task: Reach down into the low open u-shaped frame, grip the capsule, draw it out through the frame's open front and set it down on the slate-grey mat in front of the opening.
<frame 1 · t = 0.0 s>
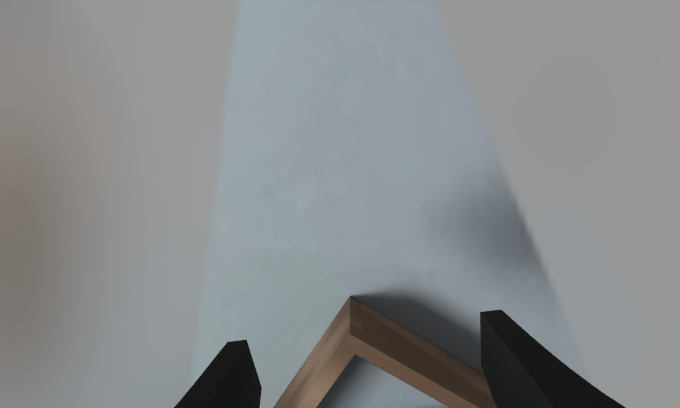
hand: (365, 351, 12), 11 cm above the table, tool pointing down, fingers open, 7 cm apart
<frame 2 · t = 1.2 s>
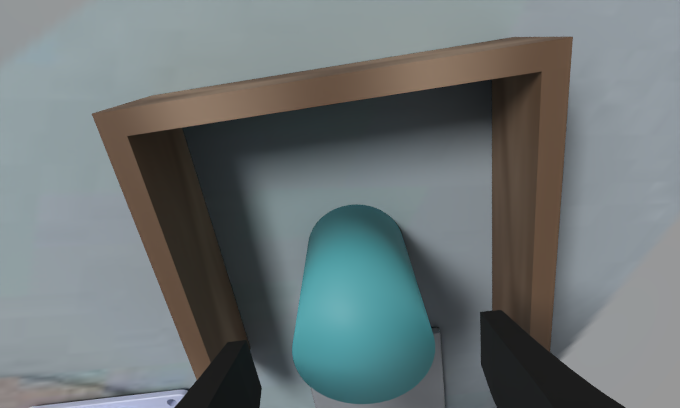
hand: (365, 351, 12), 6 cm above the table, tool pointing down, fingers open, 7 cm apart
capsule: (355, 248, 18), on the table
open u-shaped frame: (351, 219, 17), on the table
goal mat: (376, 377, 21), on the table
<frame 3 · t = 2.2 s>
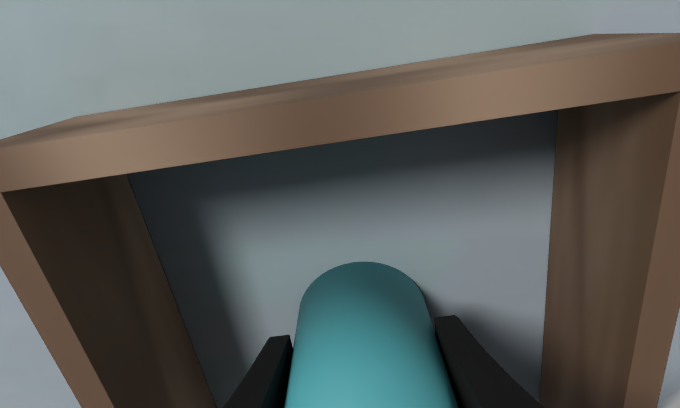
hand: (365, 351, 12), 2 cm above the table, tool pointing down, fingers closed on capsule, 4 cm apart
capsule: (362, 316, 14), on the table, touching gripper
open u-shaped frame: (356, 280, 13), on the table
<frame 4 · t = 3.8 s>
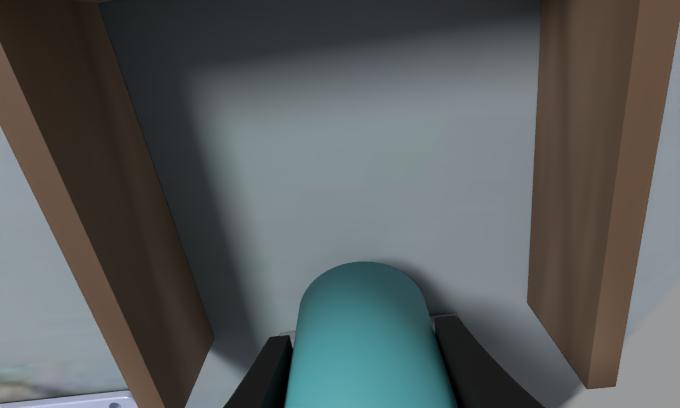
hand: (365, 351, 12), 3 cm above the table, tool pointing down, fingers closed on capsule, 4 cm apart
capsule: (362, 316, 14), point 1 cm above the table, touching gripper
open u-shaped frame: (343, 164, 13), on the table
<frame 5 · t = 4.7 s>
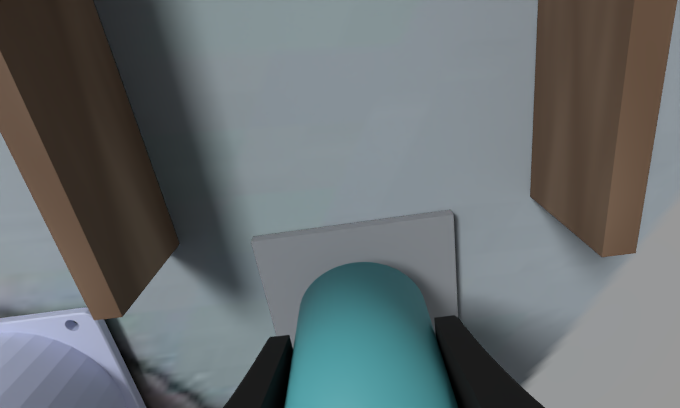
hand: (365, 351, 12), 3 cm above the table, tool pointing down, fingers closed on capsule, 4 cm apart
capsule: (362, 316, 14), point 1 cm above the table, touching gripper
open u-shaped frame: (317, 18, 11), on the table
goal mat: (361, 291, 15), on the table
when the fingers open (3 cm above the table, at t = 5.4 s): capsule drops 1 cm, resting on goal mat.
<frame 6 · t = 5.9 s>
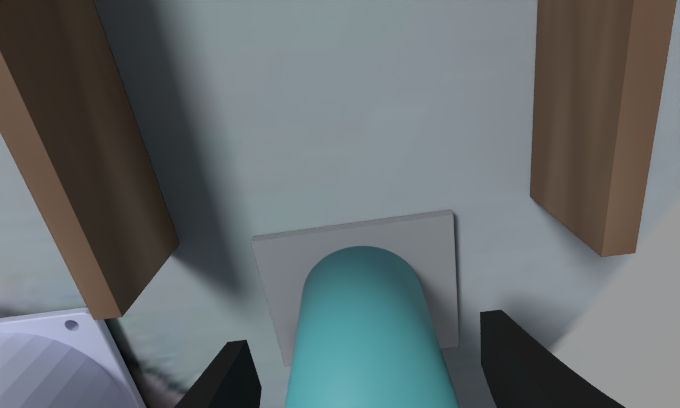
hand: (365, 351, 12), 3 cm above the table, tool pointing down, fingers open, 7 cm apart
capsule: (361, 297, 15), resting on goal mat
open u-shaped frame: (317, 18, 11), on the table
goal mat: (360, 291, 15), on the table
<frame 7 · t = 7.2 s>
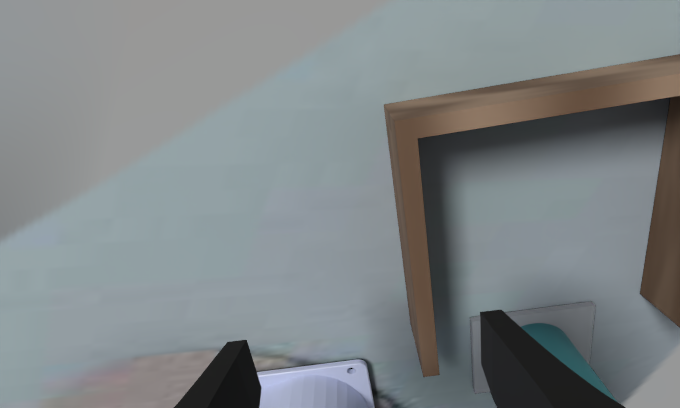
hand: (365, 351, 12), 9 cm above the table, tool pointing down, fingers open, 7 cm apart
capsule: (532, 352, 24), resting on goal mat
open u-shaped frame: (532, 207, 20), on the table
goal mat: (529, 347, 24), on the table
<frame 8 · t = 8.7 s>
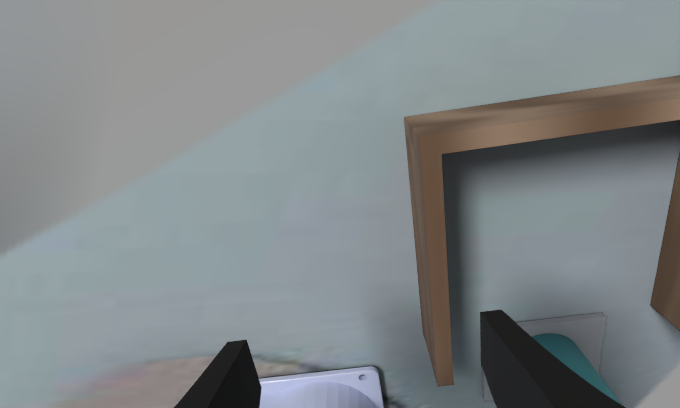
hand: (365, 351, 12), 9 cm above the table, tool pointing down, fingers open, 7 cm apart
capsule: (542, 361, 24), resting on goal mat
open u-shaped frame: (547, 219, 21), on the table
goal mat: (539, 356, 24), on the table
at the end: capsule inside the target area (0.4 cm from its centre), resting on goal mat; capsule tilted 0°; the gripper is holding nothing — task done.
